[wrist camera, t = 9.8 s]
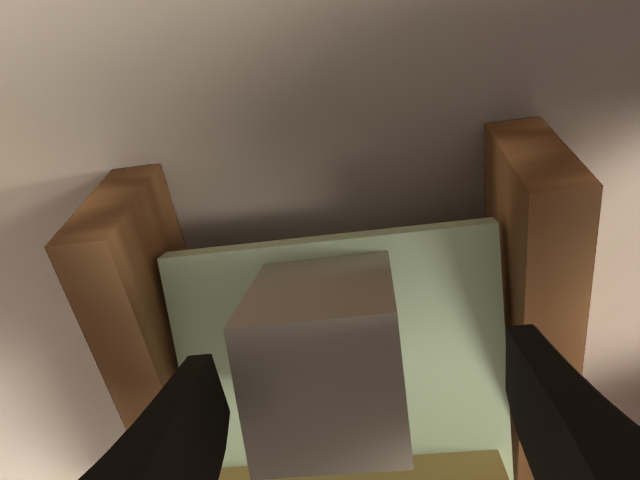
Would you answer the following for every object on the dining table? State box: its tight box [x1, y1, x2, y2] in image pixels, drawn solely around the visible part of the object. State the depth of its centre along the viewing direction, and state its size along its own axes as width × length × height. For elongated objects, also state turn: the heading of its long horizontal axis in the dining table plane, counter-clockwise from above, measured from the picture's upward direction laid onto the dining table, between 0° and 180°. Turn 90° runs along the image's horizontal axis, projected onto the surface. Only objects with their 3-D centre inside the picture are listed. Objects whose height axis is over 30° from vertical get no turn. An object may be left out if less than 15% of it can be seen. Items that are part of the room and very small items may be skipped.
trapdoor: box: [157, 217, 514, 480], centre depth 21 cm, size 12×11×3 cm
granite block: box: [223, 251, 414, 480], centre depth 18 cm, size 4×4×6 cm
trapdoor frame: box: [45, 117, 603, 480], centre depth 23 cm, size 17×16×6 cm
